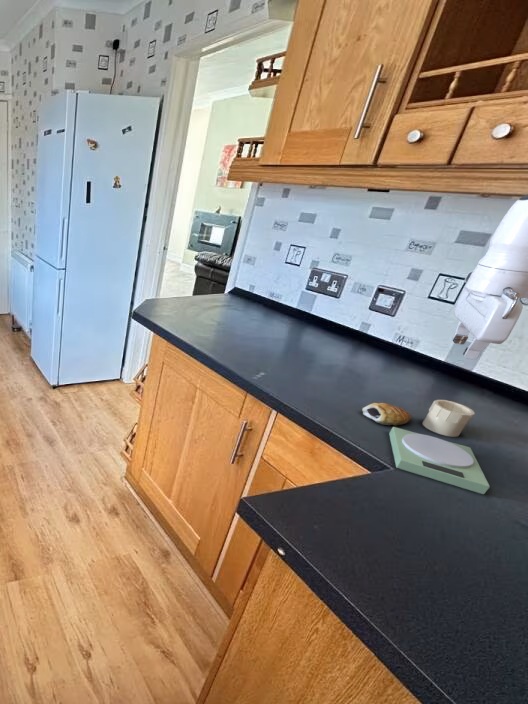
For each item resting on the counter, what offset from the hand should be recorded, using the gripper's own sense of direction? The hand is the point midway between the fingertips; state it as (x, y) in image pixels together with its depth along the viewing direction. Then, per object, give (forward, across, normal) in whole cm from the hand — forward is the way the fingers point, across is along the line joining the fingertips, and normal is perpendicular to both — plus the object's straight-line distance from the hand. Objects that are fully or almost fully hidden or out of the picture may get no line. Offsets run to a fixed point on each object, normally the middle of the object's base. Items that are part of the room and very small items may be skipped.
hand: (463, 349), depth 85 cm
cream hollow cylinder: (+21, +7, -6) cm, 23 cm away
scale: (+21, -11, -2) cm, 24 cm away
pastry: (+21, +4, +5) cm, 22 cm away
